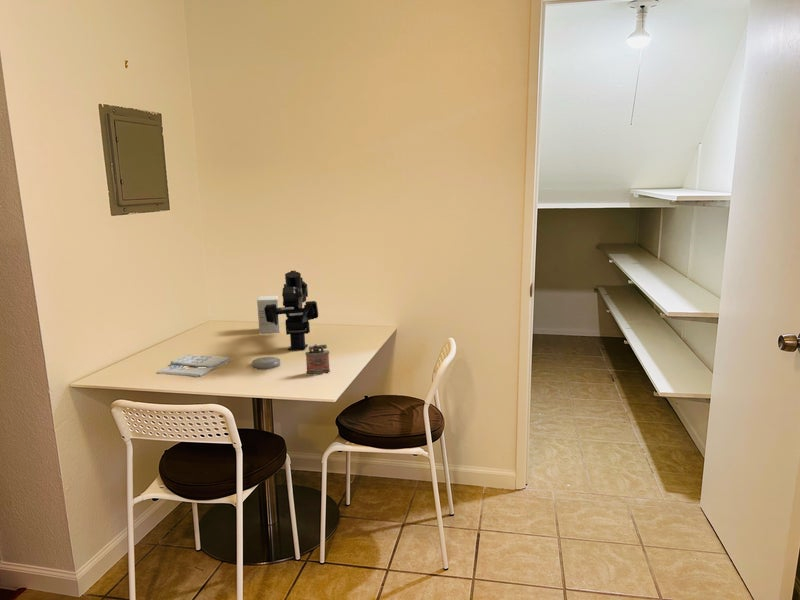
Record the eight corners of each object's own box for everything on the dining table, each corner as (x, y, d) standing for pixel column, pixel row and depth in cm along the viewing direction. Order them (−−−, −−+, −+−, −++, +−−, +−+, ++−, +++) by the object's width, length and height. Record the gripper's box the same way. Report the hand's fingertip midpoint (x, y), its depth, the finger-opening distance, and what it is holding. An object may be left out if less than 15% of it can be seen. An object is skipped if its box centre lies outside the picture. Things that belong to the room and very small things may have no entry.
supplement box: (259, 328, 269) (257, 296, 266) (280, 327, 271) (278, 295, 268) (258, 333, 260) (256, 300, 257) (279, 332, 262) (277, 299, 259)
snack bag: (231, 361, 223) (231, 356, 222) (199, 379, 204) (198, 373, 203) (188, 358, 228) (187, 352, 228) (152, 375, 209) (151, 369, 209)
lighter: (306, 375, 204) (305, 347, 202) (306, 372, 208) (304, 344, 206) (330, 373, 206) (329, 345, 204) (329, 370, 209) (328, 342, 207)
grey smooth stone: (257, 360, 222) (256, 356, 221) (283, 360, 221) (283, 357, 221) (248, 369, 212) (247, 365, 212) (275, 369, 211) (275, 365, 211)
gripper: (264, 284, 219) (258, 304, 205) (315, 280, 219) (312, 300, 206) (269, 311, 224) (263, 332, 210) (319, 307, 224) (316, 328, 211)
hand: (288, 322), depth 209 cm, fingers open, 9 cm apart
